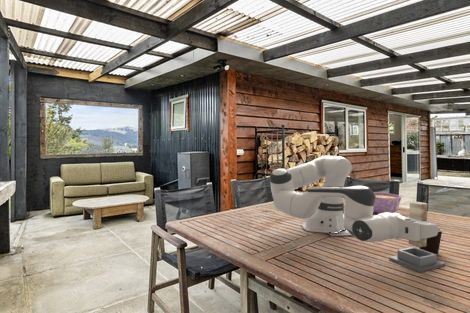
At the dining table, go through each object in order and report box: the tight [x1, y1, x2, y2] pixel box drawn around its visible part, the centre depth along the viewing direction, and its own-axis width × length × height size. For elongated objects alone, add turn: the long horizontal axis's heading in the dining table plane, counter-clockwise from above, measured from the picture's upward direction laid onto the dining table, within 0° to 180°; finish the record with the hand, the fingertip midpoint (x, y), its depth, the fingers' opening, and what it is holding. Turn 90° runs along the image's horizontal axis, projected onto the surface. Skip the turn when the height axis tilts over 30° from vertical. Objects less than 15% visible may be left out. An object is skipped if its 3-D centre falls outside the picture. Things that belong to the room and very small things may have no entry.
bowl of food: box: [373, 192, 402, 215], centre depth 183 cm, size 20×20×12 cm
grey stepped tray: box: [388, 246, 446, 273], centre depth 107 cm, size 14×12×4 cm
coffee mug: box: [418, 227, 443, 256], centre depth 118 cm, size 12×9×10 cm
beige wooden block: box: [408, 201, 428, 248], centre depth 106 cm, size 4×4×16 cm
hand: (419, 221), depth 106 cm, fingers closed on beige wooden block, 4 cm apart
